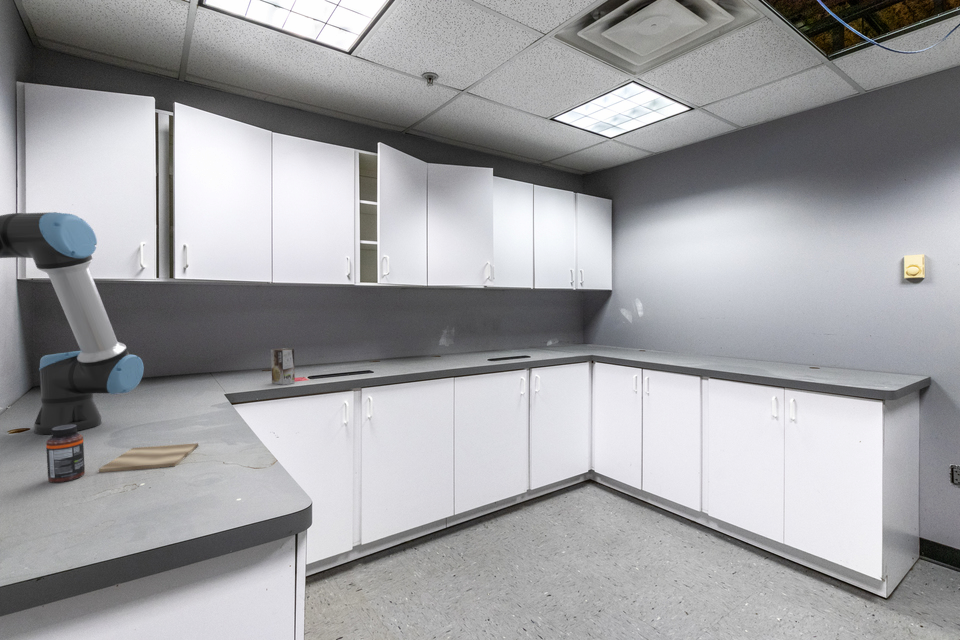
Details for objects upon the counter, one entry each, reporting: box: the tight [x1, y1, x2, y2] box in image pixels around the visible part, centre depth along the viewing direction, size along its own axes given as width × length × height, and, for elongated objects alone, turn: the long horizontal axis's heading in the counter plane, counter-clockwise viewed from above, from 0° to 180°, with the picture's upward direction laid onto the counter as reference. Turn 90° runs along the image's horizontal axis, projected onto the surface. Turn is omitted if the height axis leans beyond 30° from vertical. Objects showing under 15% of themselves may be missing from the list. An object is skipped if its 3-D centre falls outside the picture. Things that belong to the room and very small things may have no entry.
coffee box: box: [270, 347, 296, 385], centre depth 211 cm, size 9×6×16 cm
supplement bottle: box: [45, 425, 86, 483], centre depth 98 cm, size 6×6×11 cm
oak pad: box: [98, 442, 199, 473], centre depth 110 cm, size 15×15×1 cm
